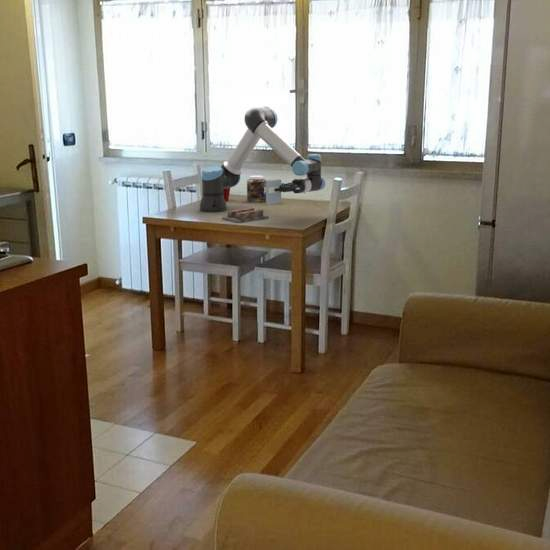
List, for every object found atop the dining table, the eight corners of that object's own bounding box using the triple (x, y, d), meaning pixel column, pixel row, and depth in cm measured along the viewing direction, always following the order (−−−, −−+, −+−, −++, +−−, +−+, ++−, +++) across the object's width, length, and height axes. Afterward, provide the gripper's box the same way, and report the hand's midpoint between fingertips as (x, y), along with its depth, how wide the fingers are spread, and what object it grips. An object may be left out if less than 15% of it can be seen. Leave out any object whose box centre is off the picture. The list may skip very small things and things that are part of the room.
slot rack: (238, 222, 363) (238, 214, 362) (222, 219, 373) (222, 211, 372) (268, 217, 376) (268, 210, 375) (251, 214, 386) (251, 206, 385)
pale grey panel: (269, 204, 361) (269, 181, 358) (266, 204, 363) (266, 180, 360) (281, 203, 366) (281, 179, 363) (277, 202, 368) (277, 179, 365)
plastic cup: (230, 202, 426) (229, 182, 423) (212, 201, 428) (212, 181, 425) (234, 199, 436) (234, 179, 433) (217, 199, 438) (217, 179, 435)
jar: (249, 199, 436) (249, 174, 432) (268, 199, 434) (268, 175, 430) (245, 202, 425) (244, 177, 421) (264, 203, 423) (263, 177, 419)
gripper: (310, 194, 370) (277, 199, 355) (290, 191, 381) (256, 195, 366) (311, 180, 368) (277, 184, 353) (290, 177, 379) (256, 181, 364)
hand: (266, 190), depth 360 cm, fingers closed on pale grey panel, 2 cm apart
